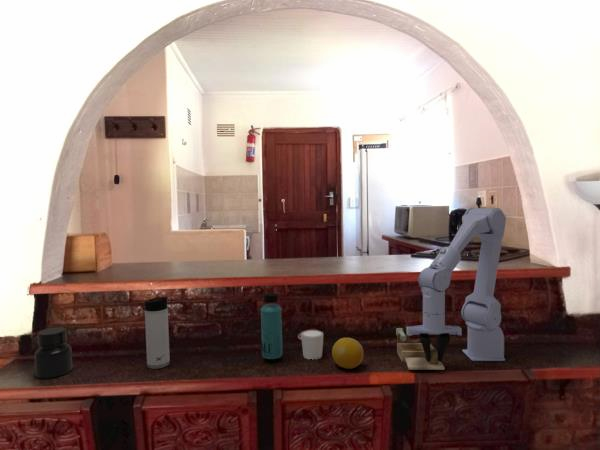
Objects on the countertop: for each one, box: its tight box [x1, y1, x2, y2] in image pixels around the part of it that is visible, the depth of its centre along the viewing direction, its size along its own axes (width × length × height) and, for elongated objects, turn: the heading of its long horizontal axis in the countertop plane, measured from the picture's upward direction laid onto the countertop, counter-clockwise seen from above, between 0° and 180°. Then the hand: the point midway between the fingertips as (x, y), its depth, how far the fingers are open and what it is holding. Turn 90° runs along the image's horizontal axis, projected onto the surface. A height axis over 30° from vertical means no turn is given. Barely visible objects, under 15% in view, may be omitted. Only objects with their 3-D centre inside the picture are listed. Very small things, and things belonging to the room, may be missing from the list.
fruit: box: [331, 337, 365, 370], centre depth 112 cm, size 9×8×8 cm
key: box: [395, 327, 406, 342], centre depth 125 cm, size 2×6×2 cm, turn 178°
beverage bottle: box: [260, 292, 284, 360], centre depth 118 cm, size 6×7×20 cm
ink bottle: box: [34, 326, 73, 379], centre depth 112 cm, size 10×9×12 cm
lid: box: [405, 347, 445, 371], centre depth 110 cm, size 9×6×4 cm
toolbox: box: [396, 333, 435, 363], centre depth 119 cm, size 10×8×6 cm
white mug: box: [300, 329, 325, 361], centre depth 121 cm, size 7×7×7 cm
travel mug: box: [144, 296, 171, 370], centre depth 116 cm, size 6×7×20 cm
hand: (433, 360), depth 110 cm, fingers closed on lid, 2 cm apart
